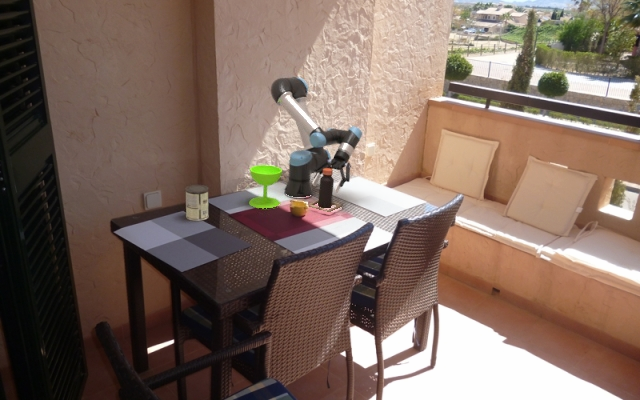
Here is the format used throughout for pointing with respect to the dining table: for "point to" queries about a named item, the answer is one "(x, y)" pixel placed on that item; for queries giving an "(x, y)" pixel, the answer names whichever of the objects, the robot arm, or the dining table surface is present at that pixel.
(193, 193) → the coffee can
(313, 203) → the tray
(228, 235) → the dining table surface
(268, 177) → the wineglass
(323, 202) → the vinegar
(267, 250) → the dining table surface
